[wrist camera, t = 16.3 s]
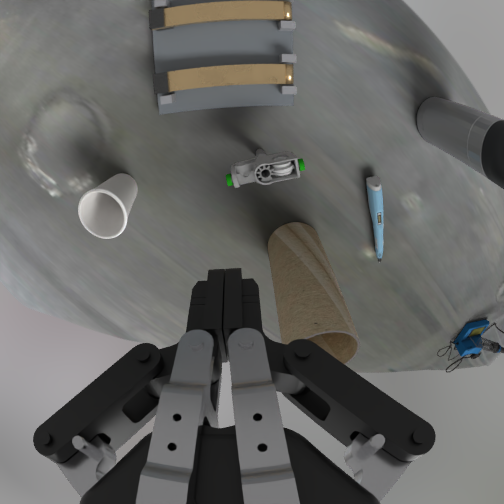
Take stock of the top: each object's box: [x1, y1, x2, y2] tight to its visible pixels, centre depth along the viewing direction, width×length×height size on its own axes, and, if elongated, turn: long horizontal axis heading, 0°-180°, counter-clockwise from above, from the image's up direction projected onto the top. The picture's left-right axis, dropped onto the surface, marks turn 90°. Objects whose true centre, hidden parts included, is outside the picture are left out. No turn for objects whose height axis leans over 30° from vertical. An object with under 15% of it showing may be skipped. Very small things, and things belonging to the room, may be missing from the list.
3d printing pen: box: [366, 176, 384, 262], centre depth 51 cm, size 19×3×3 cm, turn 18°
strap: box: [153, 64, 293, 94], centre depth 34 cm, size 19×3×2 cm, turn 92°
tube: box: [268, 222, 360, 365], centre depth 45 cm, size 10×10×25 cm
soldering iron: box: [437, 320, 504, 372], centre depth 81 cm, size 35×31×18 cm
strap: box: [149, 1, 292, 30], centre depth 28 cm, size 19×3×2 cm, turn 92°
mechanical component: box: [226, 149, 305, 188], centre depth 40 cm, size 3×10×10 cm, turn 103°
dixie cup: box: [78, 173, 138, 239], centre depth 42 cm, size 8×8×10 cm
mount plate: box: [152, 0, 297, 115], centre depth 32 cm, size 20×20×4 cm
